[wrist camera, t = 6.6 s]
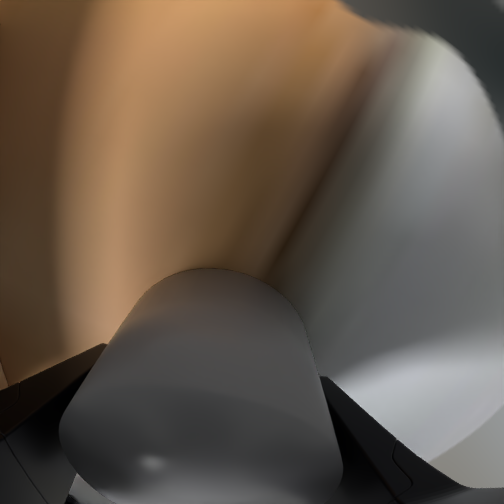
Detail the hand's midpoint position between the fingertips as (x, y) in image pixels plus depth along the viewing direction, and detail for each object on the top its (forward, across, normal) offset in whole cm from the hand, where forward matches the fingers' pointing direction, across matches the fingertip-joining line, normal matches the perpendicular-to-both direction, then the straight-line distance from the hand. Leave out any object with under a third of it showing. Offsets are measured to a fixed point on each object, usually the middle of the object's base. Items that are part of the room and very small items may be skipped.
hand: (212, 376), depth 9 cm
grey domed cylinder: (+1, 0, 0) cm, 1 cm away
